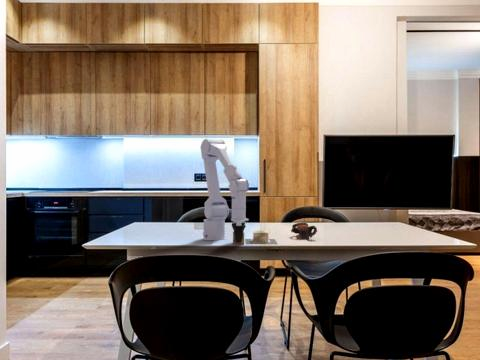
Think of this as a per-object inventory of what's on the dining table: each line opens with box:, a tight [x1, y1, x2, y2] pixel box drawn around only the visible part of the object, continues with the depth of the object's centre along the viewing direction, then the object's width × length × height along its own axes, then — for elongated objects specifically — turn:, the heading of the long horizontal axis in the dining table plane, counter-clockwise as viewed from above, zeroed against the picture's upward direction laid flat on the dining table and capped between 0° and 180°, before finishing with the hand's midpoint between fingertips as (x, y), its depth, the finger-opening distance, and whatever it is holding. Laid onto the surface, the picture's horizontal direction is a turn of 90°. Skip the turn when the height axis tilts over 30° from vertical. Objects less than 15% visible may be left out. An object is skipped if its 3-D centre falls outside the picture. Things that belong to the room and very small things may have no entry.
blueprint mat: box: [244, 238, 278, 245], centre depth 175 cm, size 13×13×1 cm
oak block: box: [252, 230, 269, 242], centre depth 176 cm, size 6×6×4 cm
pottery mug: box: [290, 222, 318, 241], centre depth 187 cm, size 12×10×8 cm
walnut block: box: [232, 231, 245, 246], centre depth 170 cm, size 4×4×5 cm
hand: (238, 241), depth 170 cm, fingers closed on walnut block, 4 cm apart
